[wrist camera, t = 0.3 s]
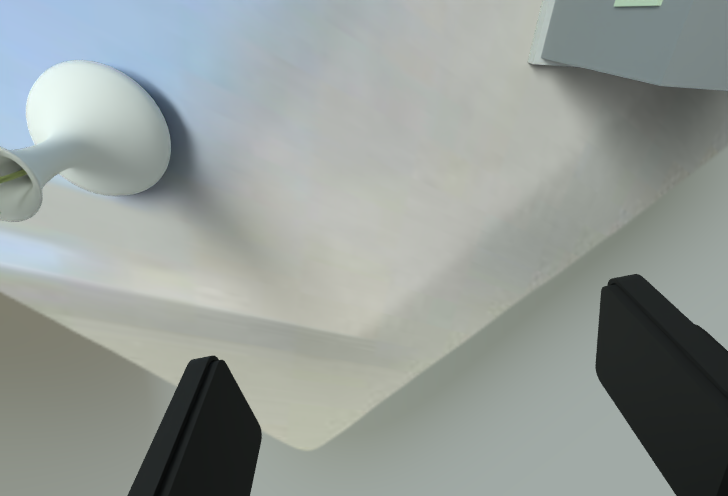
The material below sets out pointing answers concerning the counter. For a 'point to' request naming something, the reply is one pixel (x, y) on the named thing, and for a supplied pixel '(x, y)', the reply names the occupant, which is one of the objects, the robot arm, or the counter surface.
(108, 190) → the flower in vase
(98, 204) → the counter surface
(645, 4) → the cabinet
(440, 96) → the counter surface
